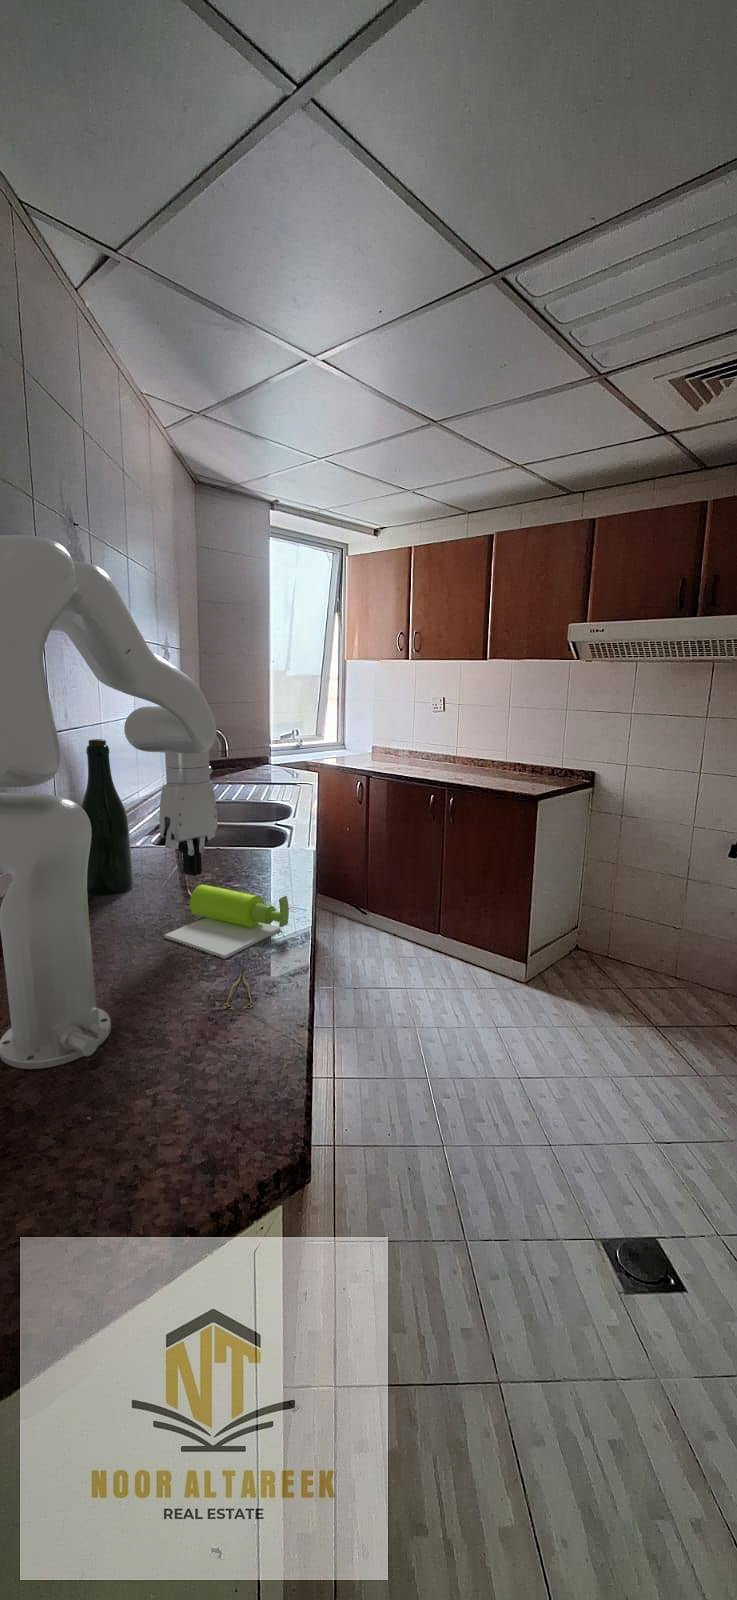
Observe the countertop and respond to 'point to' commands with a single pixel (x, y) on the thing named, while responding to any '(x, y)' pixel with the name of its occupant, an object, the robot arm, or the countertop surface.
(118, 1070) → the countertop surface
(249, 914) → the soap dispenser
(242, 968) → the tongs
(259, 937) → the grey mat
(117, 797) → the green wine bottle
